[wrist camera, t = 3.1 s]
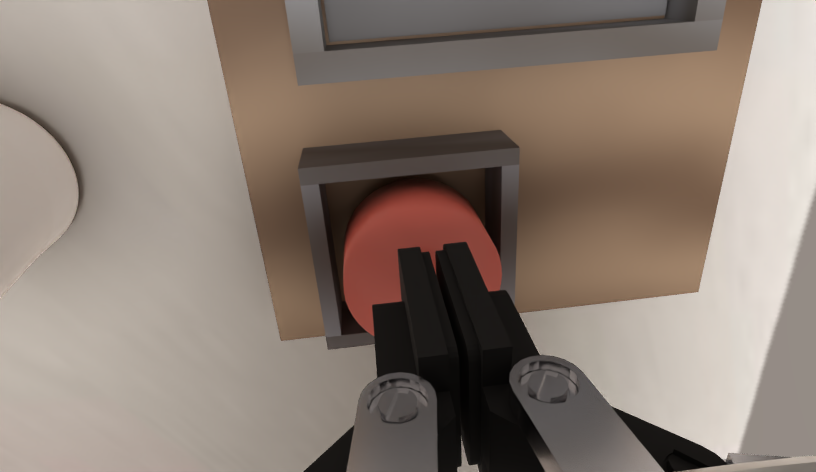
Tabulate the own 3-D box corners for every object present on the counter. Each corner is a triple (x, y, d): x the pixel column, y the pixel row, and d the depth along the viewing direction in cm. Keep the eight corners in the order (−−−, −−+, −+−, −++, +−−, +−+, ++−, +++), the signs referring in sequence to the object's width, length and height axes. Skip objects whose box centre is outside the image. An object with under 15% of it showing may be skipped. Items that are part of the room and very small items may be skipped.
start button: (481, 294, 17) (500, 338, 15) (352, 309, 17) (352, 355, 15) (481, 171, 16) (503, 201, 13) (335, 185, 15) (333, 219, 13)
